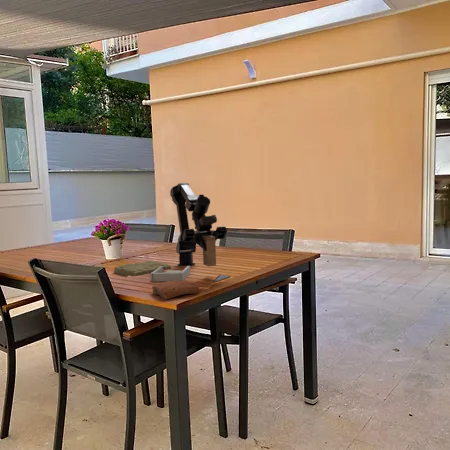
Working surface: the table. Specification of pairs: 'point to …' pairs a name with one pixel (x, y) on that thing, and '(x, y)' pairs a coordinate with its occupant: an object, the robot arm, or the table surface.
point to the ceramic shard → (175, 289)
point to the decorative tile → (140, 268)
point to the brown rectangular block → (209, 251)
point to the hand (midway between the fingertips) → (210, 249)
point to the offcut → (173, 271)
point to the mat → (220, 278)
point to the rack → (169, 275)
